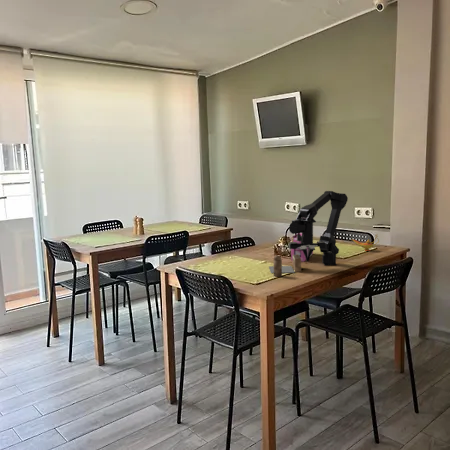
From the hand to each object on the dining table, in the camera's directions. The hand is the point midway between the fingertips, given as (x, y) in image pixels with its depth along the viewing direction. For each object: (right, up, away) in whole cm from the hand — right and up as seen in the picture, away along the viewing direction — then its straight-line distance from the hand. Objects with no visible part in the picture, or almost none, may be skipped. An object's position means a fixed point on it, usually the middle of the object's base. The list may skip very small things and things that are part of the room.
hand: (307, 261), depth 233 cm
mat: (-13, -5, +1) cm, 14 cm away
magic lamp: (+43, +3, +42) cm, 60 cm away
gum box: (+3, 0, +30) cm, 31 cm away
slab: (-5, -4, +1) cm, 7 cm away
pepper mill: (-17, -6, -11) cm, 21 cm away
